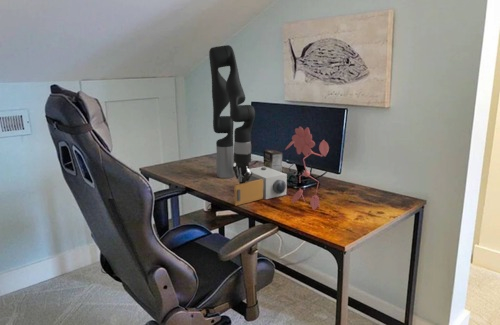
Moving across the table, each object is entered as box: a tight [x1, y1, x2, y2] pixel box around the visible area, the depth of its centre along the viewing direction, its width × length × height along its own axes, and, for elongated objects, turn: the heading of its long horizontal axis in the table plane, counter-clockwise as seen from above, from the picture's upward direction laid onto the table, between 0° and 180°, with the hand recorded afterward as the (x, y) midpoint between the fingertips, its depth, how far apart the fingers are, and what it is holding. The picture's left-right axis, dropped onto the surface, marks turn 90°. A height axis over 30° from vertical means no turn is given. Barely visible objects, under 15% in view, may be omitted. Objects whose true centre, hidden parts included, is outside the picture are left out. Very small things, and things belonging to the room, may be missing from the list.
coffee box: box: [263, 149, 283, 173], centre depth 201 cm, size 9×6×16 cm
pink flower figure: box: [284, 126, 330, 217], centre depth 159 cm, size 15×26×35 cm, turn 35°
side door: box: [233, 179, 264, 207], centre depth 169 cm, size 16×2×9 cm, turn 128°
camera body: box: [245, 165, 288, 200], centre depth 183 cm, size 20×12×11 cm, turn 33°
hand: (242, 189), depth 170 cm, fingers closed
